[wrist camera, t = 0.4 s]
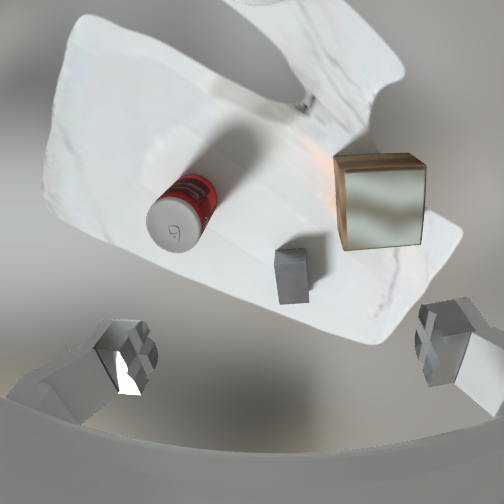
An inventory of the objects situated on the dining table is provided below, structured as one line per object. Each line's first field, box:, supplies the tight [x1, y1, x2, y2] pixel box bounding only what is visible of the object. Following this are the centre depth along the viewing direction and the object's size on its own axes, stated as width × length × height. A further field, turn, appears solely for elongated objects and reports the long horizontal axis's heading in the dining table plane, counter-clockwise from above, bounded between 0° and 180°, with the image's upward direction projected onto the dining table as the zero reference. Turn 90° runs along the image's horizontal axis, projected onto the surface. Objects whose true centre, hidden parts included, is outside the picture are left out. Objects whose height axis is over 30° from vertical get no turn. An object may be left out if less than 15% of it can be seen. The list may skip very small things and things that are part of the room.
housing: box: [274, 248, 309, 305], centre depth 53 cm, size 10×5×4 cm, turn 9°
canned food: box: [146, 175, 217, 253], centre depth 45 cm, size 8×8×11 cm
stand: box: [333, 153, 426, 251], centre depth 42 cm, size 12×12×8 cm
